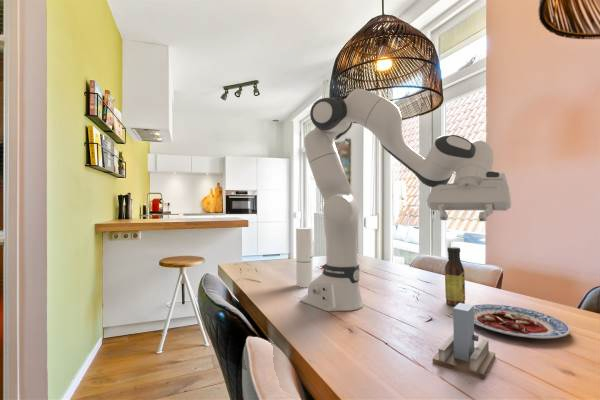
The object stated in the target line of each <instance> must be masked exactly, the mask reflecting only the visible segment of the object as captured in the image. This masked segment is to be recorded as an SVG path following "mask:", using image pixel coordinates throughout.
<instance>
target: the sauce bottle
mask: <svg viewBox="0 0 600 400" xmlns="http://www.w3.org/2000/svg"><path fill="white" fill-rule="evenodd" d="M460 253H461V248H460V247H457V246H448V247H447V255H448V258H447V262H446V264H445V265H444V272H445V273H444V283H445V285H444V286H445V289H444V290H445V302H446V304H447V305H450V306H452V307H453V306H454V307H455V306H456V305H458V304H459V303H463V304H466V302H465V301H466V280H465V279H466V277H465V269H464V266H463V263H462V260H461V256H460V255H461V254H460Z"/></svg>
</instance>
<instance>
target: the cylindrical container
mask: <svg viewBox="0 0 600 400" xmlns="http://www.w3.org/2000/svg"><path fill="white" fill-rule="evenodd" d="M295 242H296V243H295V245H296V247H295V249H296V250H295V251H296V253H295V255H296V261H295V262H296V265H295V266H296V267H295V268H296V270H295V271H296V287H297V286H300V287H309V285H310V283H311V282H312V281H314V273H313V272H314V268H313V267H314V263H313V262H314V258H313V256H314V254H313V251H314V250H313V242H314V241H313V227H296V228H295ZM300 287H299V288H300Z"/></svg>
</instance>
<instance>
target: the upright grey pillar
mask: <svg viewBox="0 0 600 400" xmlns="http://www.w3.org/2000/svg"><path fill="white" fill-rule="evenodd" d="M452 309H453V310H452V312H453V313H452V315H453V317H452V318H453V319H452V320H453V333H454V358H457V359H461V360H464V361H468V362H469V361H470V357H471V355H472V354H473V352H474V347H475V342H479V338H480V337H479V335H476V334H475V324H474V305H473V304H467V303H465V304H463V303H459V304H458V305H456V306H454V307H453V308H452Z"/></svg>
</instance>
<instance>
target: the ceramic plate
mask: <svg viewBox="0 0 600 400" xmlns="http://www.w3.org/2000/svg"><path fill="white" fill-rule="evenodd" d="M474 325H476V326H479V327H481V328H484V329H487V330H489V331H493V332H496V333H500V334H502V335H507V336H512V337H519V338H525V339H526V338H529V339H542V340H543V339H545V340H546V339H557V338H562V337H566V336H568V335H570V333H571V328H570V326H569V325H568V324H567V323H566V322H564V321H562V320H560V319H559V318H556V317H554V316H553V315H549V314H546V313H542V312H540V311H537V310H532V309H527V308H524V307H518V306H511V305H506V304H505V305H504V304H489V303H488V304H483V303H482V304H475V305H474Z"/></svg>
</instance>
